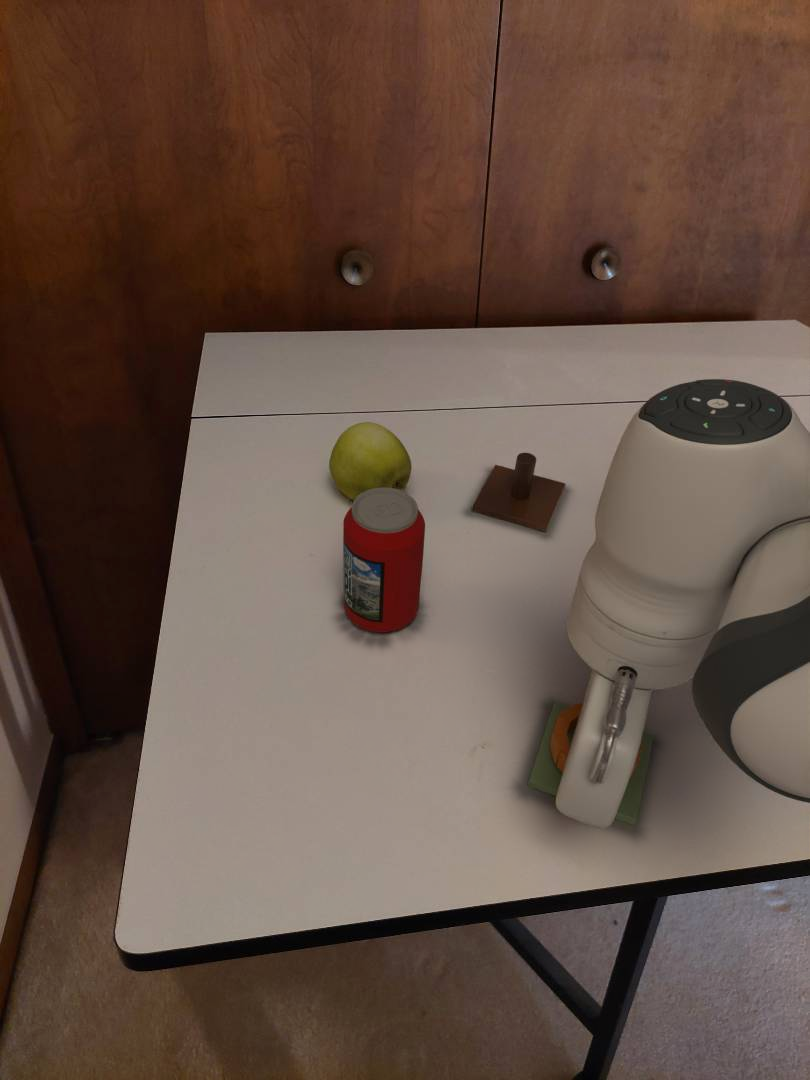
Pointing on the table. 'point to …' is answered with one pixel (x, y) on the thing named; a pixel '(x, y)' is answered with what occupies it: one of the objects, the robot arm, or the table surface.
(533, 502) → the post
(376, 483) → the apple
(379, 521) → the beverage can
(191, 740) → the table surface
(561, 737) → the ring
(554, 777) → the post
